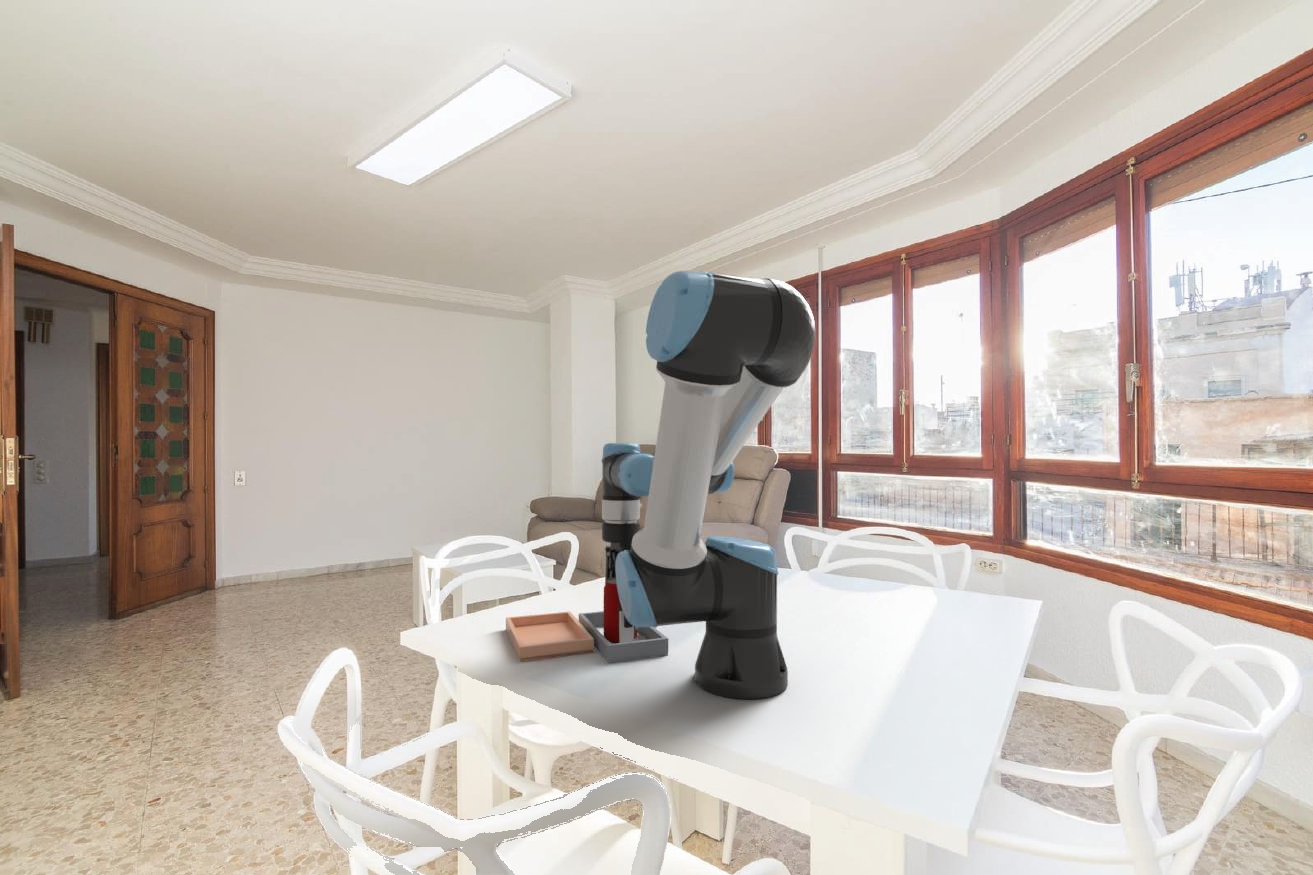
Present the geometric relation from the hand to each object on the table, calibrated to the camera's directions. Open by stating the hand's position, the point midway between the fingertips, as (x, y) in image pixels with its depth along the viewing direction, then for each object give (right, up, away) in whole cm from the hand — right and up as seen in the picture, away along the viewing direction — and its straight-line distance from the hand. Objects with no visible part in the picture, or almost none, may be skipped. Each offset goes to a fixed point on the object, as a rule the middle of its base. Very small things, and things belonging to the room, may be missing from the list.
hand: (620, 637), depth 119 cm
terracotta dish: (-14, -1, 0) cm, 14 cm away
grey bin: (0, -1, 0) cm, 1 cm away
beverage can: (0, -1, 0) cm, 1 cm away
